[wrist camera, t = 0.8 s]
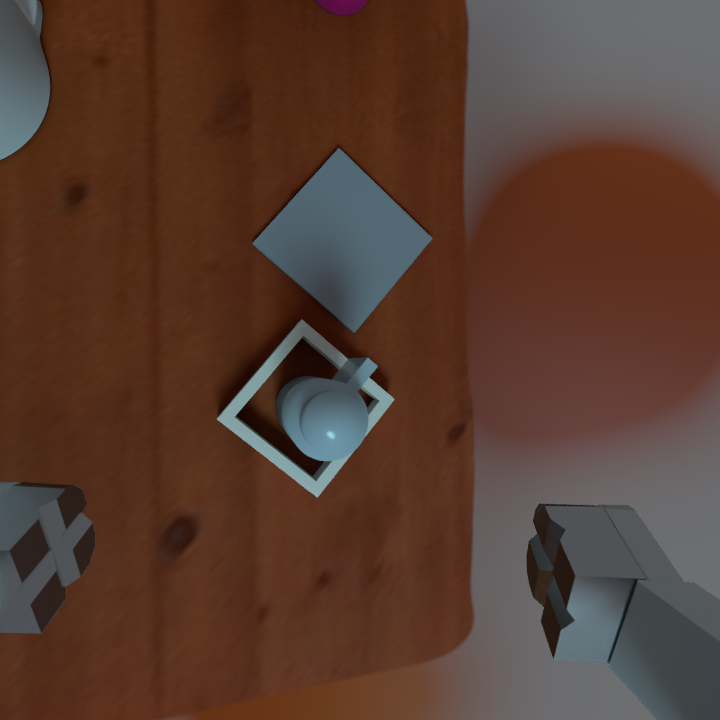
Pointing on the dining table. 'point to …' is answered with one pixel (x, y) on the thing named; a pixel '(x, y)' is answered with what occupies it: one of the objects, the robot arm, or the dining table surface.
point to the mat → (343, 240)
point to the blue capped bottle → (326, 411)
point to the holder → (231, 410)
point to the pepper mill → (342, 6)
